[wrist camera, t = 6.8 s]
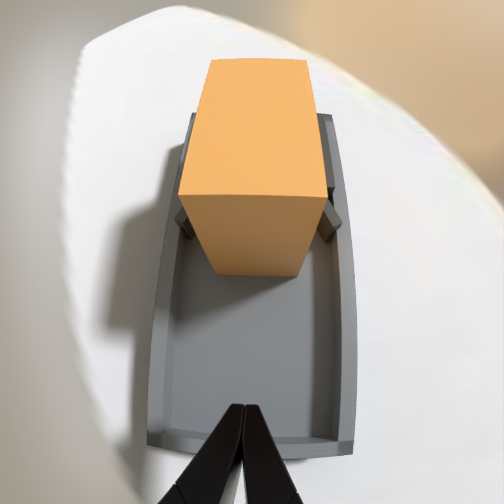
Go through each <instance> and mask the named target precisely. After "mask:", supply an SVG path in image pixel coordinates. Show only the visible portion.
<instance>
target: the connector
mask: <svg viewBox="0 0 504 504" xmlns="http://www.w3.org/2000/svg"><path fill="white" fill-rule="evenodd" d="M178 196H179V198H180V200H181V203H182V205H183V207H184V209H185V211H186V213H187V216H188V218H189V220H190V222H191V224H192V226H193V228H194V231H195V233H196V235H197V237H198V239H199V241H200V243H201V245H202V247H203V250H204V252H205V254H206V256H207V258H208V260H209V262H210V264H211V266H212V268H213V270H214V272H215V274H217V275H247V276H287V277H298V275H299V273H300V270H301V267H302V265H303V262H304V260H305V257H306V255H307V252H308V250H309V247H310V244H311V242H312V239H313V237H314V234H315V231H316V229H317V226H318V223H319V221H320V218H321V215H322V212H323V210H324V207H325V204H326V201H327V199H328V194H327V185H326V176H325V168H324V160H323V153H322V146H321V139H320V132H319V126H318V120H317V113H316V108H315V102H314V96H313V91H312V86H311V80H310V75H309V70H308V66H307V61H306V60H294V59H270V58H243V59H218V60H211V63H210V67H209V70H208V73H207V77H206V80H205V84H204V87H203V91H202V94H201V98H200V102H199V105H198V109H197V113H196V117H195V121H194V125H193V129H192V133H191V137H190V141H189V146H188V150H187V154H186V159H185V163H184V168H183V173H182V178H181V182H180V187H179V193H178Z"/></svg>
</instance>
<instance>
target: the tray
mask: <svg viewBox="0 0 504 504" xmlns="http://www.w3.org/2000/svg"><path fill="white" fill-rule="evenodd" d="M196 113H197V112H196ZM196 113H192V115H191V119H190V123H189V126H188V130H187V134H186V138H185V142H184V146H183V150H182V154H181V159H180V163H179V167H178V172H177V176H176V181H175V186H174V190H173V195H172V200H171V205H170V211H169V216H168V221H167V227H166V232H165V238H164V244H163V251H162V257H161V264H160V270H159V278H158V285H157V293H156V301H155V310H154V319H153V329H152V340H151V352H150V366H149V383H148V408H147V445H151V446H155V447H160V448H166V449H171V450H177V451H183V452H189V453H196V454H197V452H198V451H199V449H200V448H201V447H202V445H203V444H204V442H205V441H206V439H207V438H208V437H209V435H210V434H211V432H212V431H213V429H214V428H215V427H216V425H217V424H218V422H219V421H220V419H221V418H222V416H223V415H224V413H225V412H226V410H227V409H228V407H229V406H230V405H231V404H232V403H239V404H244V405H246V404H257V405H259V407H260V409H261V412H262V414H263V416H264V419H265V421H266V423H267V426H268V428H269V430H270V433H271V435H272V437H273V439H274V442H275V444H276V446H277V448H278V451H279V453H280V455H281V457H282V459H301V458H319V457H332V456H342V455H350V454H353V444H354V432H355V418H356V398H357V310H356V290H355V274H354V261H353V250H352V240H351V230H350V221H349V213H348V205H347V198H346V191H345V184H344V178H343V171H342V165H341V160H340V154H339V148H338V143H337V138H336V133H335V128H334V123H333V118H332V115H329V114H320V113H317V120H318V126H319V132H320V139H321V146H322V153H323V160H324V168H325V176H326V185H327V194H328V199H327V201H326V204H325V207H324V210H323V212H322V215H321V218H320V221H319V223H318V226H317V229H316V231H315V234H314V237H313V239H312V242H311V244H310V247H309V250H308V252H307V255H306V257H305V260H304V262H303V265H302V267H301V270H300V273H299V275H298V277H287V276H247V275H217V274H215V272H214V270H213V268H212V266H211V264H210V262H209V260H208V258H207V256H206V254H205V252H204V250H203V247H202V245H201V243H200V241H199V239H198V237H197V235H196V233H195V231H194V228H193V226H192V224H191V222H190V220H189V218H188V216H187V213H186V211H185V209H184V207H183V205H182V203H181V200H180V198H179V196H178V193H179V187H180V182H181V178H182V173H183V168H184V163H185V159H186V154H187V150H188V146H189V141H190V137H191V133H192V129H193V125H194V121H195V117H196Z"/></svg>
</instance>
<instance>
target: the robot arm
mask: <svg viewBox="0 0 504 504" xmlns="http://www.w3.org/2000/svg"><path fill="white" fill-rule="evenodd" d="M242 460H243V476H244V488H245V499H246V504H303V502H302V500H301V498H300V496H299V493H296V492H297V490H296V488H295V485H294V483H293V481H292V479H291V477H290V475H289V473H288V470H287V468H286V466H285V464H284V462H283V460H282V457H281V455H280V453H279V451H278V448H277V446H276V444H275V442H274V439H273V437H272V435H271V433H270V430H269V428H268V426H267V423H266V421H265V419H264V416H263V414H262V412H261V409H260V407H259V405H257V404H246V405H244V404H239V403H232V404H231V405H230V406H229V407H228V409H227V410H226V412H225V413H224V415H223V416H222V418H221V419H220V421H219V422H218V424H217V425H216V427H215V428H214V429H213V431H212V432H211V434H210V435H209V437H208V438H207V439H206V441H205V442H204V444H203V445H202V447H201V448H200V449H199V451H198V452H197V454H196V455H195V456H194V458H193V459H192V460H191V462H190V463H189V464H188V466H187V467H186V469H185V470H184V471H183V473H182V474H181V475H180V477H179V478H178V479H177V481H176V482H175V483H176V484H173V486H172V487H171V488H170V489H169V491H168V492H167V493H166V494H165V496H164V497H163V498H162V499H161V500H160V501H159V503H158V504H233V503H234V499H235V494H236V490H237V485H238V481H239V477H240V472H241V467H242Z"/></svg>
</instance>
